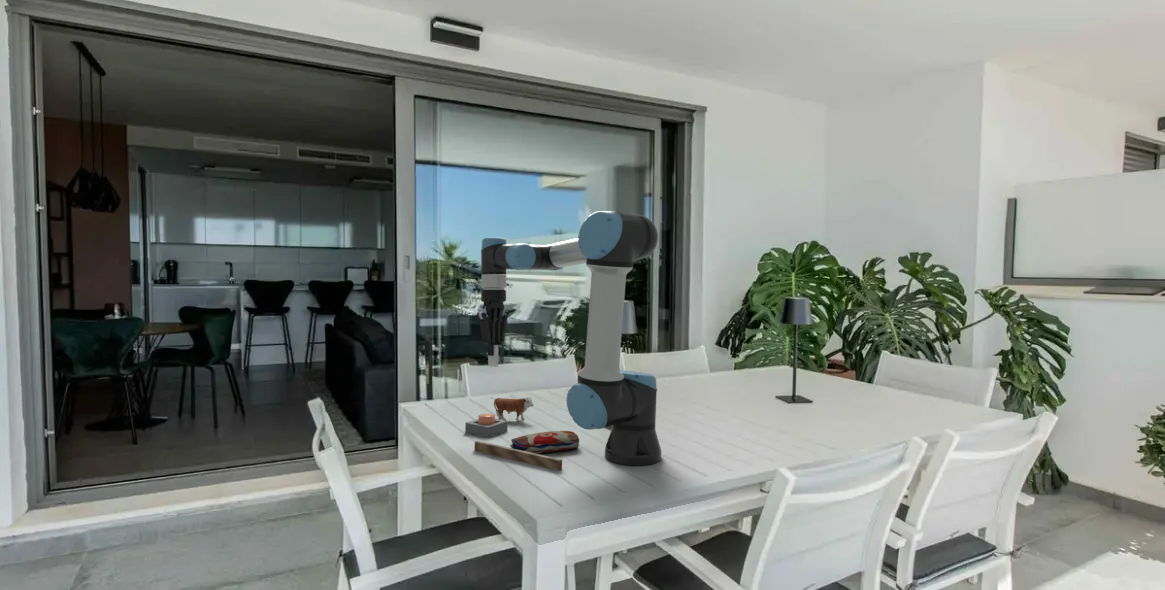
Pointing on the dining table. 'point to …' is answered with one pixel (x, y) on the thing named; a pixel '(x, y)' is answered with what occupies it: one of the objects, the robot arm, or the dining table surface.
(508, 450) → the rail
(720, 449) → the dining table surface
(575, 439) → the pencil case
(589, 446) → the dining table surface
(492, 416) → the button
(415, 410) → the dining table surface
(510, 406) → the bull figurine
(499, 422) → the button housing
